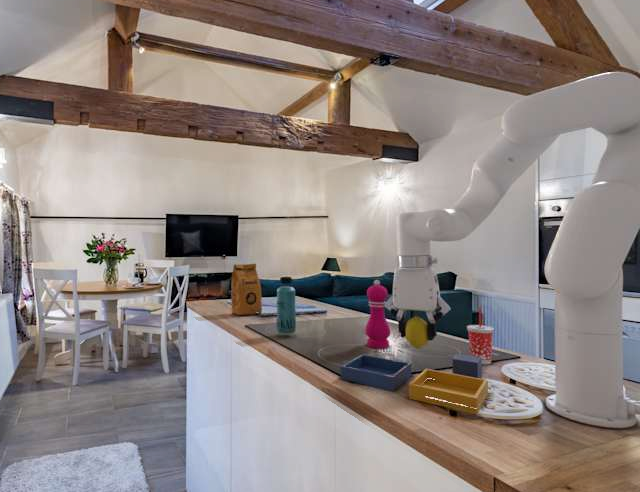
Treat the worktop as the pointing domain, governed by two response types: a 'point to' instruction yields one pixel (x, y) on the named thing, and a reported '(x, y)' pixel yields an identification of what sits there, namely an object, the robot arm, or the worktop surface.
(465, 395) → the mustard tray
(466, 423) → the worktop surface
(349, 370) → the blue tray
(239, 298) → the coffee package
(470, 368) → the navy block
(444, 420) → the worktop surface
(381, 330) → the pepper mill
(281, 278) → the beverage bottle
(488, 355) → the beverage cup
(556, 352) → the robot arm
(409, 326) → the lemon
